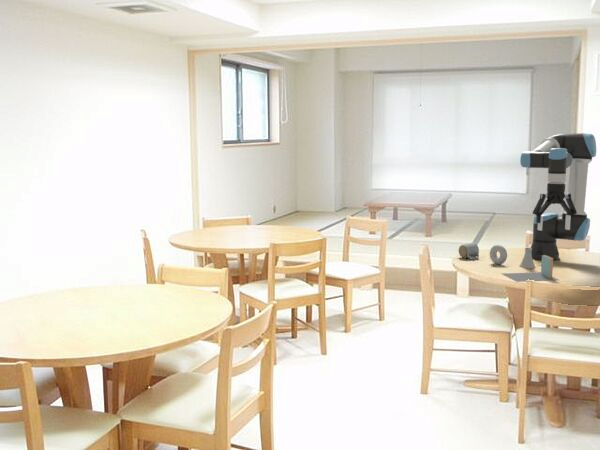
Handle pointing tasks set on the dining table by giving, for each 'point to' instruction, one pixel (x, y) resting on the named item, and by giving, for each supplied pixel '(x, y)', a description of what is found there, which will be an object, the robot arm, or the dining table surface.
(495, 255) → the donut
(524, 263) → the flask
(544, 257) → the tile
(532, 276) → the mat
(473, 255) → the ceramic mug
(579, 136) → the robot arm
